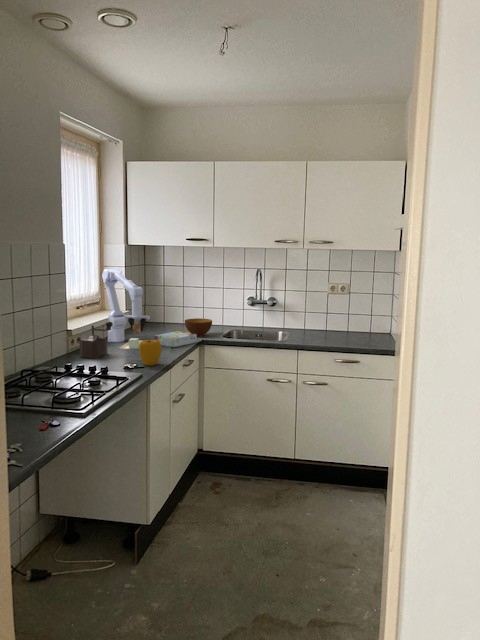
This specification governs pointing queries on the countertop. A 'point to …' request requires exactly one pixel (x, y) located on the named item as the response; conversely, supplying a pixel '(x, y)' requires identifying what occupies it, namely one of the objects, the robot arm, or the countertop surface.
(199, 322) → the bowl
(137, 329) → the walnut block
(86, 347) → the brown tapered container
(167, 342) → the snack box
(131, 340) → the sage block
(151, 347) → the yellow bell pepper
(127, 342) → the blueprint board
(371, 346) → the countertop surface
